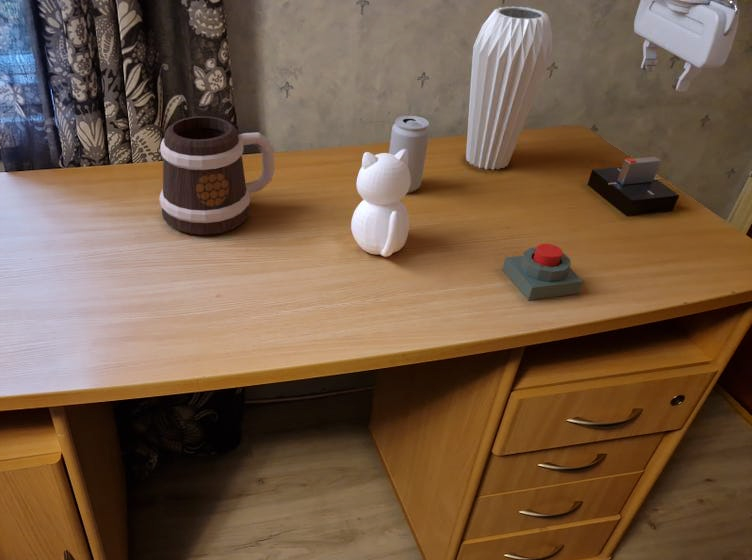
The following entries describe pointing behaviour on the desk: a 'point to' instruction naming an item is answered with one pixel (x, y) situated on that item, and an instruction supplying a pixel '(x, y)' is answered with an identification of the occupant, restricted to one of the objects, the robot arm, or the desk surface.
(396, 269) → the desk surface
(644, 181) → the tap handle
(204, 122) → the mug
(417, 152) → the beverage can
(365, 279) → the desk surface
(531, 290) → the button block
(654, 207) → the block
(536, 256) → the button
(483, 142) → the vase
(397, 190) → the cat figurine
